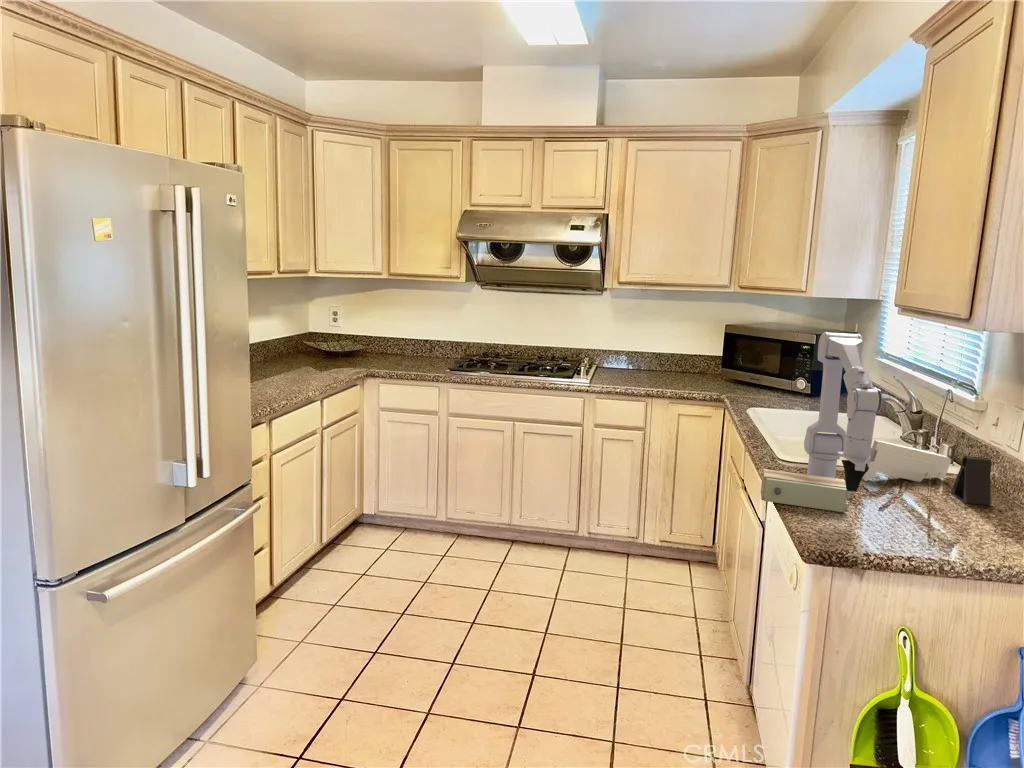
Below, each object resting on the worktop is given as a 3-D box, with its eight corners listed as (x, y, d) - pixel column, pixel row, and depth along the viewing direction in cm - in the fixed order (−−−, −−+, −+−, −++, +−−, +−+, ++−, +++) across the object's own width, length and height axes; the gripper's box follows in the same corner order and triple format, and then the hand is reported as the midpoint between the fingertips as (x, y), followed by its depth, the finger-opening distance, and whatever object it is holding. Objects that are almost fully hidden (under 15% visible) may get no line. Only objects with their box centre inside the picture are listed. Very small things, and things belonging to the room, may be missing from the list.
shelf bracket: (856, 477, 199) (869, 438, 197) (926, 492, 204) (940, 454, 202) (868, 483, 194) (882, 443, 192) (940, 499, 199) (954, 459, 197)
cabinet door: (764, 499, 176) (766, 478, 175) (847, 511, 170) (850, 489, 169) (764, 502, 174) (766, 480, 173) (848, 514, 168) (851, 491, 167)
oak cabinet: (760, 491, 183) (763, 468, 182) (840, 502, 177) (843, 479, 176) (761, 499, 177) (764, 476, 175) (844, 511, 170) (847, 487, 169)
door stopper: (990, 506, 179) (998, 463, 177) (965, 503, 180) (973, 461, 178) (974, 494, 188) (981, 453, 185) (950, 492, 189) (957, 452, 186)
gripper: (837, 428, 169) (830, 479, 172) (844, 442, 156) (836, 497, 159) (868, 431, 167) (860, 483, 170) (878, 446, 154) (869, 502, 156)
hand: (851, 490), depth 164 cm, fingers closed
